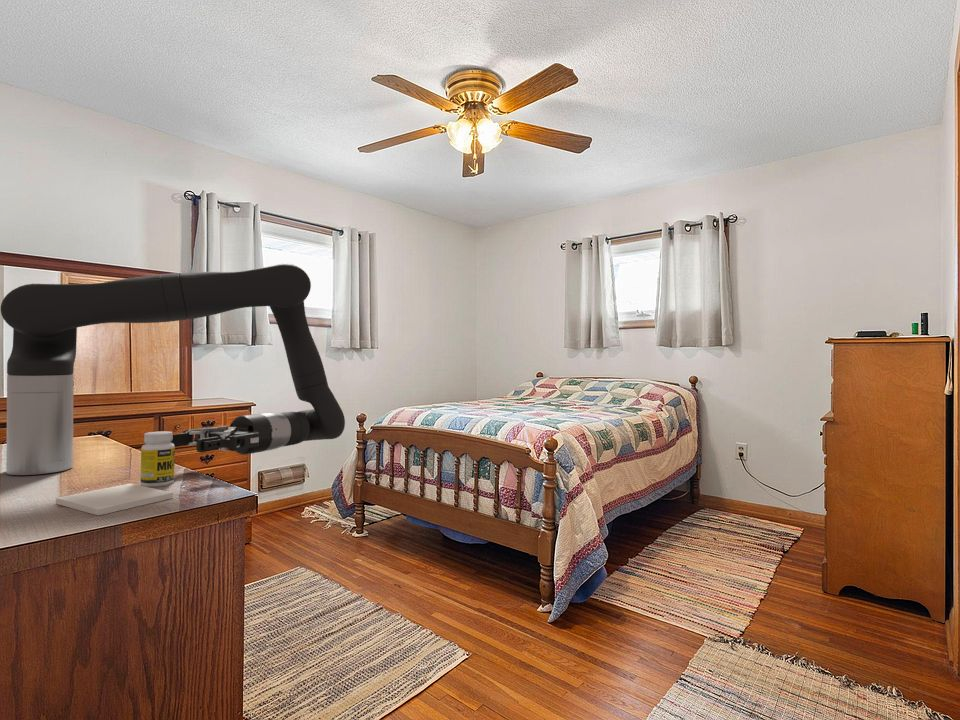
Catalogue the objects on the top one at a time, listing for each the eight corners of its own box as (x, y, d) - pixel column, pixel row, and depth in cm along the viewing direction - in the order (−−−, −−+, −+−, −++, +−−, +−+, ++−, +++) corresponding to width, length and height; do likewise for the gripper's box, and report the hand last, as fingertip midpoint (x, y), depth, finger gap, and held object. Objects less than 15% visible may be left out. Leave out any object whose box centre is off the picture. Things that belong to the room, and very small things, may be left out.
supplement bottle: (158, 488, 84) (158, 435, 84) (133, 486, 85) (133, 434, 85) (181, 481, 89) (181, 431, 89) (157, 479, 90) (157, 430, 90)
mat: (56, 503, 75) (56, 497, 75) (130, 488, 84) (130, 483, 84) (98, 515, 70) (98, 509, 70) (172, 498, 79) (172, 492, 79)
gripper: (237, 411, 108) (157, 419, 94) (286, 416, 102) (209, 424, 87) (236, 448, 108) (156, 461, 94) (286, 455, 102) (208, 470, 87)
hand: (182, 443), depth 91 cm, fingers open, 8 cm apart
